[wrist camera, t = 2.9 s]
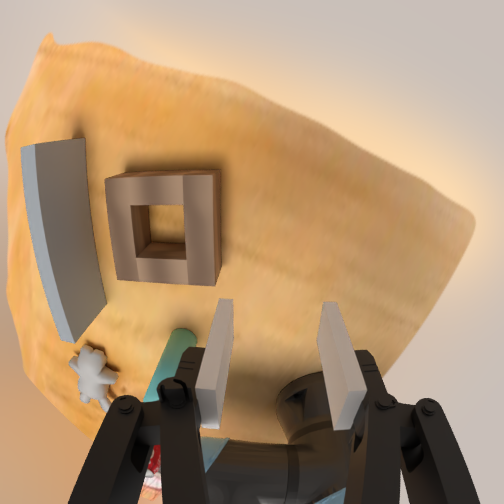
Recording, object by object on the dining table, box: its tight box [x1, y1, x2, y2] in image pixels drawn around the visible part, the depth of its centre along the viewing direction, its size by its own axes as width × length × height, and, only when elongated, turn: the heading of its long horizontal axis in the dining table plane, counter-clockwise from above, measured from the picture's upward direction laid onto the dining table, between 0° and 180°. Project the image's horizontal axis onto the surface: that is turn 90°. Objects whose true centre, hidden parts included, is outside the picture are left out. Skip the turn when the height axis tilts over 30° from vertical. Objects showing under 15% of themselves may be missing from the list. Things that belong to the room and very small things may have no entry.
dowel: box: [143, 328, 197, 402], centre depth 36 cm, size 4×4×13 cm
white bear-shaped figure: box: [69, 344, 118, 412], centre depth 44 cm, size 10×5×15 cm
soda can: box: [145, 445, 161, 478], centre depth 46 cm, size 7×7×12 cm
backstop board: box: [21, 138, 107, 344], centre depth 31 cm, size 2×24×10 cm, turn 179°
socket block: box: [105, 170, 221, 286], centre depth 33 cm, size 12×12×5 cm
